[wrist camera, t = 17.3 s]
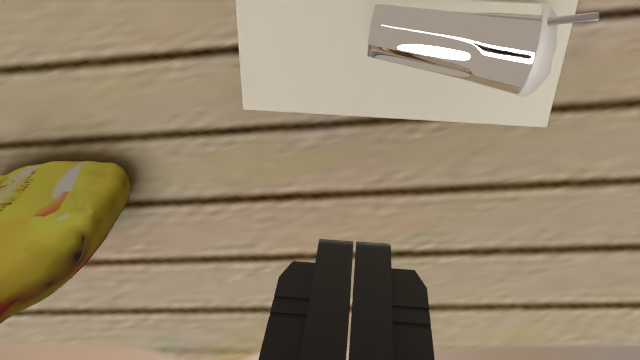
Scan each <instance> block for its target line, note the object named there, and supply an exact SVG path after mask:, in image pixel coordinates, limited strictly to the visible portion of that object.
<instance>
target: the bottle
mask: <svg viewBox="0 0 640 360" xmlns="http://www.w3.org/2000/svg"><path fill="white" fill-rule="evenodd" d="M129 196H130V181H129V178H128V176H127V174H126V172H125V171H124V170H123V169H122V168H121V167H120V166H119V165H117V164H114V163H100V162H95V161H79V162H74V161H52V162H47V163H44V164H39V165H30V166H25V167H21V168H18V169H16V170H14V171H12V172H11V173H9V174H7V175H0V323H2V322H3V321H4V320H6V319H7V318H9V317H11V316H12V315H14V314H15V313H17V312H19V311H21V310H24V309H26V308H28V307H30V306H32V305H34V304H36V303H38V302H40V301H41V300H43V299H45V298H46V297H48V296H50V295H51V294H52V293H54V292H55V291H56V290H58V289H59V288H60V287H61V286H62V285H64V284H65V283H66V282H67V281H68V280H69V279H71V278H72V277H73V276H74V275H75V274H76V273H77V272H78V271H79V270H80V269H81V268H82V267H83V266H84V264H85V263H86V262H87V261H88V260H89V259H90V258H91V257H92V255H93V254H94V253H95V252H96V250H97V249H98V248H99V246H100V245H101V244H102V243H103V241H104V240H105V238H106V237H107V235H108V233H109V232H110V230H111V229H112V227H113V225H114V223H115V221H116V220H117V218H118V217H119V215H120V214H121V212H122V211H123V209H124V207H125V206H126V204H127V202H128V199H129Z"/></svg>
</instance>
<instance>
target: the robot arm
mask: <svg viewBox="0 0 640 360" xmlns="http://www.w3.org/2000/svg"><path fill="white" fill-rule="evenodd" d="M352 257H353V241H340V240H326V239H320V240H319V244H318V250H317V256H316V262H315V263H310V262H296V261H293V262H292V263H291V264H290V265H289V266H288V267H287V269H286V270H285V271H284V272H283V273H282V274H281V275H280V276H279V279H278V283H277V287H276V291H275V295H274V300H273V303H272V307H271V312H270V316H269V320H268V324H267V328H266V332H265V336H264V340H263V344H262V348H261V352H260V356H259V360H346V351H347V337H348V323H349V308H350V291H351V274H352ZM349 360H434V350H433V341H432V332H431V323H430V313H429V304H428V295H427V288H426V286H425V285H424V283H423V282H422V280H421V279H420V277H419V276H418V274H417V273H416V271H415V270H406V269H392V268H391V245H390V244H384V243H370V242H356V255H355V271H354V286H353V302H352V317H351V332H350V348H349Z"/></svg>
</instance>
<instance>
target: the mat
mask: <svg viewBox="0 0 640 360" xmlns="http://www.w3.org/2000/svg"><path fill="white" fill-rule="evenodd" d="M235 1H236V15H237V29H238V44H239V58H240V72H241V87H242V101H243V109H245V110H262V111H279V112H296V113H313V114H330V115H347V116H363V117H380V118H397V119H414V120H431V121H448V122H465V123H482V124H499V125H516V126H532V127H547V124H548V120H549V116H550V112H551V108H552V104H553V100H554V96H555V92H556V88H557V84H558V80H559V76H560V72H561V68H562V63H563V59H564V55H565V51H566V47H567V43H568V39H569V35H570V31H571V27H572V23H569V24H560V25H558V28H557V35H556V41H557V48H556V51H555V53H554V55H553V59H552V63H551V71H550V74H549V76H548V77H547V78H546V80H545V81H544V82H543V83H542V84H541V85H540V86H539V87H538V89H537V90H536V91H534V92H533V93H532V94H530V95H528V96H525V97H519V96H517V95H513V94H509V93H506V92H502V91H498V90H495V89H491V88H487V87H484V86H480V85H477V84H473V83H470V82H467V81H464V80H461V79H458V78H454V77H450V76H446V75H442V74H438V73H434V72H430V71H426V70H422V69H418V68H414V67H409V66H405V65H401V64H397V63H393V62H389V61H384V60H380V59H376V58H372V57H368V56H367V44H368V37H369V30H370V24H371V19H372V14H373V9H374V4H375V1H376V0H235ZM479 1H505V2H527V3H544V4H548V5H549V6H550V7H551V8H552V9H553V10H554V12H555V14H556V16H566V15H575V11H576V7H577V3H578V0H479Z"/></svg>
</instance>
